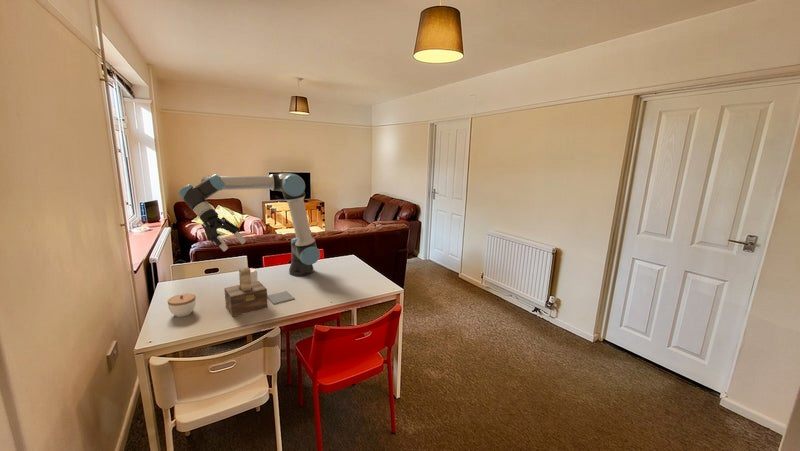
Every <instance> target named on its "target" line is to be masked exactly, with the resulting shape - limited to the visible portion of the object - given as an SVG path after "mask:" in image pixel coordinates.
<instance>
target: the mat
mask: <svg viewBox="0 0 800 451" xmlns="http://www.w3.org/2000/svg"><path fill="white" fill-rule="evenodd" d="M267 300H269V301H270V303H271V304H272V305H279V304H281V303H286V302H288V301H293V300H295V297H294V296H293V295H292V294H291V293H289V292H288V291H287V290H286V291H282V292H281V291H280V292H278V293H272V294H269V295H268V294H267Z"/></svg>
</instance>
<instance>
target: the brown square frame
mask: <svg viewBox="0 0 800 451" xmlns="http://www.w3.org/2000/svg"><path fill="white" fill-rule="evenodd" d="M223 289H224V301H225V308H226V310H227V311H228V313H229V314H230V316H231V317H237V316H241V315H244V314H248V313H253V312H256V311H259V310H264V309H267V308H268V298H267V296H268V294H267V293H268V288H266V287H265V285H264V284H262V283H261V282H260V280H258V281H256V282H252V283H251V290H246V291H242V292H241V290H240V284H239V285H238V284H237V285H233V286H227V287H224V288H223Z"/></svg>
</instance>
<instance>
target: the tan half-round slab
mask: <svg viewBox="0 0 800 451" xmlns="http://www.w3.org/2000/svg"><path fill="white" fill-rule="evenodd" d="M248 268H249V267H248ZM249 269H250V275H251V283H252V282H256V281H259V279H258V271H257V269H256V268H253V267H250V268H249Z"/></svg>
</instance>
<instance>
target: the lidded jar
mask: <svg viewBox="0 0 800 451" xmlns="http://www.w3.org/2000/svg"><path fill="white" fill-rule="evenodd" d="M196 299H197V298H196V295H195V294H193V293H181V294H177V295H173V296H171V297H170V298H168V299H167V305H168V310H169V311H170V313H171V314H172V315H174V316H175V317H177V318H181V317H186V316H190V314H192V312H193V311H194V309H195V307H196V302H197V301H196Z"/></svg>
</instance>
